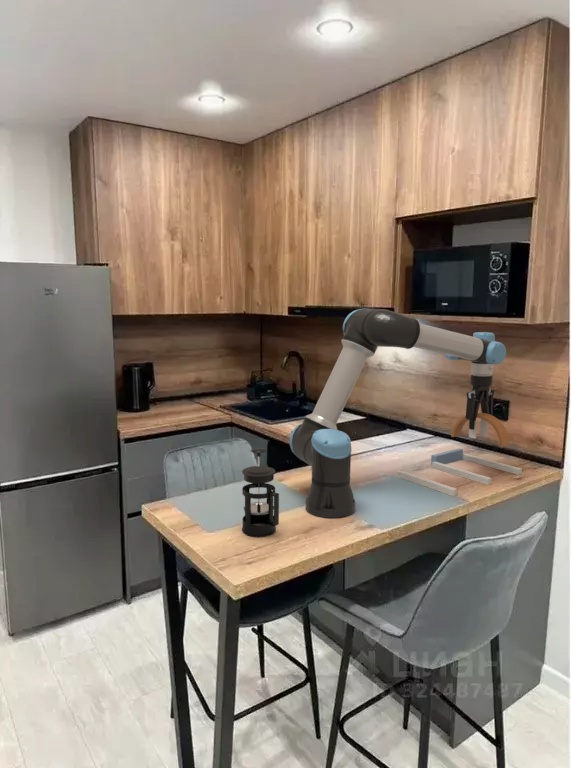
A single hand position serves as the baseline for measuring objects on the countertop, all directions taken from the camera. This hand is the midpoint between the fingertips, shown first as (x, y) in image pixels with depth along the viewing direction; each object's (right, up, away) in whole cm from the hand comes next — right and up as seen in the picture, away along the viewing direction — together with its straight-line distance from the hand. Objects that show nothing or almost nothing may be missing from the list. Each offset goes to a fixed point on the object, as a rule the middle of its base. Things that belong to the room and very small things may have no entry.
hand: (478, 436), depth 196 cm
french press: (-78, -21, -51) cm, 96 cm away
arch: (0, -2, 0) cm, 2 cm away
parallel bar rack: (-8, -14, -3) cm, 16 cm away
